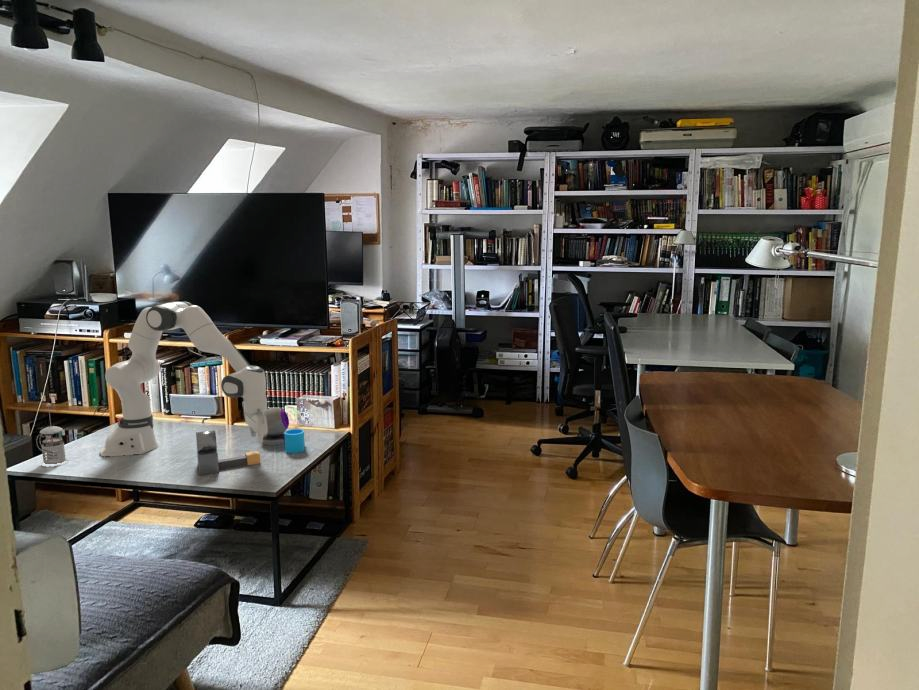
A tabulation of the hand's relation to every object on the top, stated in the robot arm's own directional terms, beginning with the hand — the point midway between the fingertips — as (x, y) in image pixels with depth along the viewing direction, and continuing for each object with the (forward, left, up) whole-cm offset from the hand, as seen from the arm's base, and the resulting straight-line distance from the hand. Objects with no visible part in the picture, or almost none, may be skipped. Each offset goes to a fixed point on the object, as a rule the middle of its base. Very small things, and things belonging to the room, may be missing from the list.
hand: (256, 439), depth 278 cm
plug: (-7, -1, -9) cm, 12 cm away
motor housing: (-19, 0, -9) cm, 21 cm away
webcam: (+10, +26, -10) cm, 29 cm away
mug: (+17, +10, -10) cm, 22 cm away
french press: (-77, +32, -9) cm, 83 cm away
